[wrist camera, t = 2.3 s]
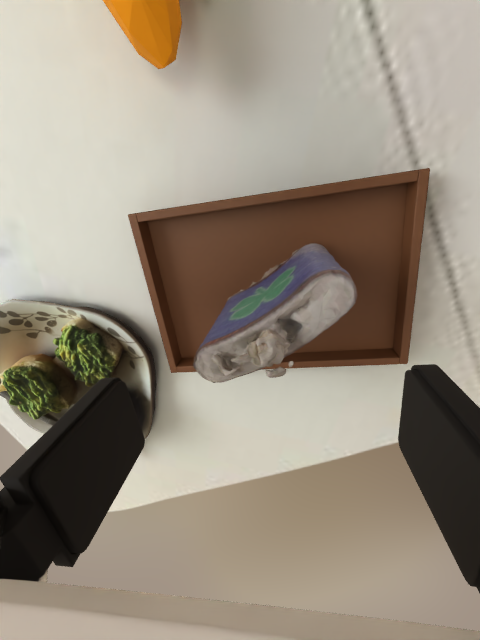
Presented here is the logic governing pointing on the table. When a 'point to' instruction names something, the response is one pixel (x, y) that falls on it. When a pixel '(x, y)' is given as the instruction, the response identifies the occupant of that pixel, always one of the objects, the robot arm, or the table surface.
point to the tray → (277, 246)
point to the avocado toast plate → (68, 360)
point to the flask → (276, 316)
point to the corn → (150, 27)
